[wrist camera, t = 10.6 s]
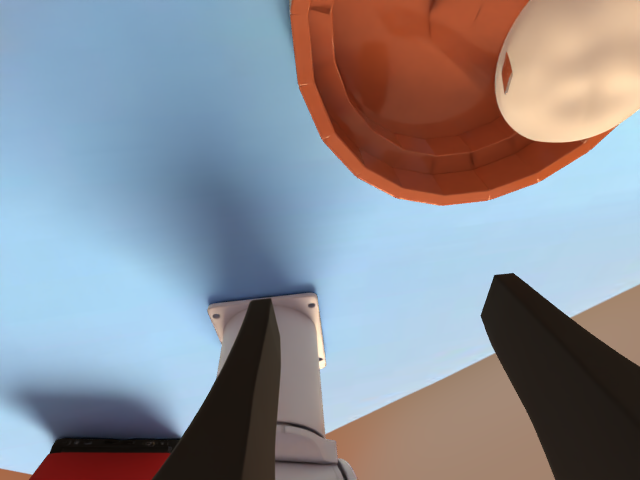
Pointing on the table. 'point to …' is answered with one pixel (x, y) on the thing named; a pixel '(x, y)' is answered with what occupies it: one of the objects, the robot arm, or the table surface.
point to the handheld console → (104, 459)
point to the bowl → (409, 106)
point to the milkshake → (547, 61)
